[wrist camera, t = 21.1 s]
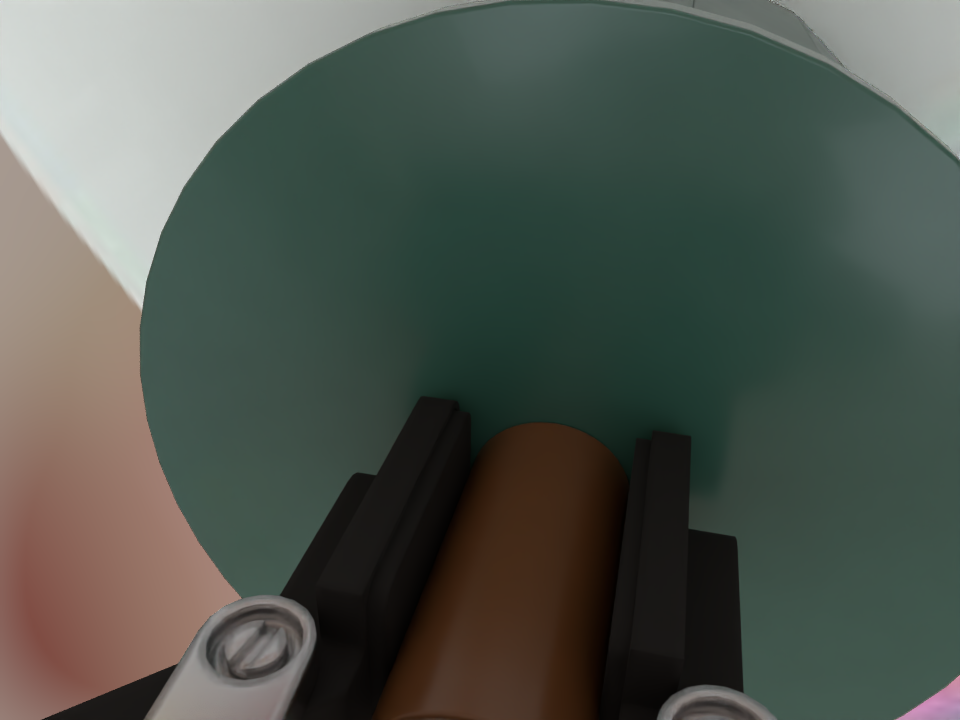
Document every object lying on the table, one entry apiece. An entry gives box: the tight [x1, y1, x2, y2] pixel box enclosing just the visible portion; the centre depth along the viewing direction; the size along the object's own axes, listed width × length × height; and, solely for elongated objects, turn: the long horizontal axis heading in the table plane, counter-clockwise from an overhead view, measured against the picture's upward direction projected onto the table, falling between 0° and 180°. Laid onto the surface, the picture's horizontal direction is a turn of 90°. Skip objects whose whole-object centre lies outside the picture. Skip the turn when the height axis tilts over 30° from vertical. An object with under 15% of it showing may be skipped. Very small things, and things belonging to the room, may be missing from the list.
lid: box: [140, 0, 960, 720], centre depth 11 cm, size 14×14×6 cm
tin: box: [655, 0, 847, 70], centre depth 17 cm, size 13×13×10 cm
